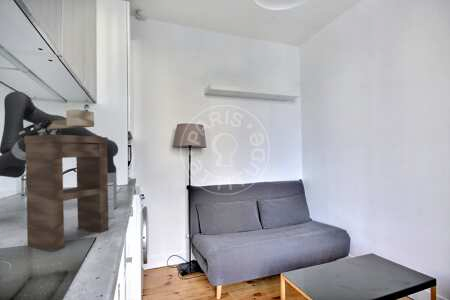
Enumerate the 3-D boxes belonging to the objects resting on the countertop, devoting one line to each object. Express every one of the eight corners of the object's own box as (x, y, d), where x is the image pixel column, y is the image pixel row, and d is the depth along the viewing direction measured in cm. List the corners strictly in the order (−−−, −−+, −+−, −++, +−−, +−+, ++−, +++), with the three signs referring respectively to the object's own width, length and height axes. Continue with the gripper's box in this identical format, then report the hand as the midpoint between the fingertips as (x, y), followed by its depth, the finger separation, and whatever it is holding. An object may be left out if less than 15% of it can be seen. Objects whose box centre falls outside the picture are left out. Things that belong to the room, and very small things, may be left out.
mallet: (55, 129, 84) (55, 116, 84) (94, 126, 77) (93, 112, 77) (37, 128, 78) (37, 114, 78) (77, 125, 71) (76, 109, 71)
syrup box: (91, 220, 89) (90, 183, 89) (104, 216, 94) (103, 181, 94) (102, 221, 87) (101, 184, 87) (114, 217, 92) (113, 182, 92)
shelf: (84, 226, 82) (83, 138, 82) (109, 229, 77) (107, 137, 77) (26, 246, 65) (24, 136, 65) (54, 252, 60) (51, 134, 61)
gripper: (52, 154, 91) (77, 130, 85) (9, 155, 78) (36, 127, 72) (46, 138, 92) (70, 114, 87) (2, 137, 79) (28, 108, 74)
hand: (54, 120), depth 79 cm, fingers closed on mallet, 2 cm apart
